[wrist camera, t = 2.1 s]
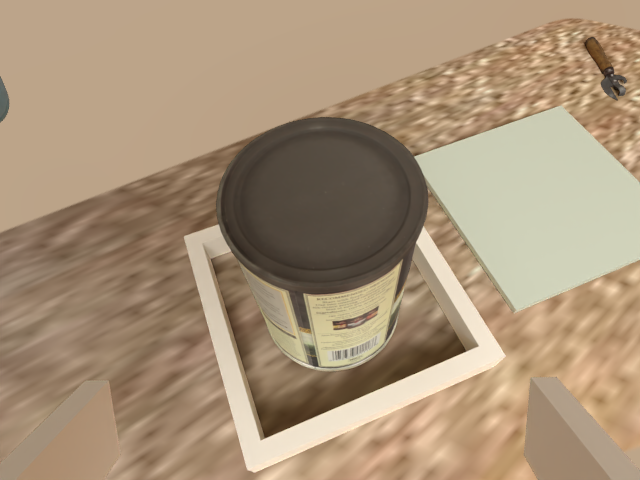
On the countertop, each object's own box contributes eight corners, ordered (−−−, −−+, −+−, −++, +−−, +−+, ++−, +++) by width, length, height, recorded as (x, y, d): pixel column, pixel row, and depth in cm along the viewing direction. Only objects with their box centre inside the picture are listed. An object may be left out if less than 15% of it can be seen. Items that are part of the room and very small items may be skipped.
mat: (513, 313, 32) (516, 310, 32) (410, 161, 40) (411, 157, 40) (688, 239, 34) (693, 235, 34) (558, 110, 42) (561, 105, 42)
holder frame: (254, 472, 28) (247, 469, 25) (193, 252, 36) (183, 236, 34) (494, 366, 30) (505, 355, 28) (383, 184, 39) (385, 166, 37)
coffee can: (329, 224, 37) (321, 88, 25) (426, 302, 33) (473, 185, 21) (235, 305, 34) (173, 194, 22) (330, 405, 29) (320, 335, 17)
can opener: (582, 45, 48) (587, 36, 47) (604, 45, 48) (609, 35, 47) (605, 103, 43) (611, 94, 42) (630, 103, 43) (637, 93, 42)
